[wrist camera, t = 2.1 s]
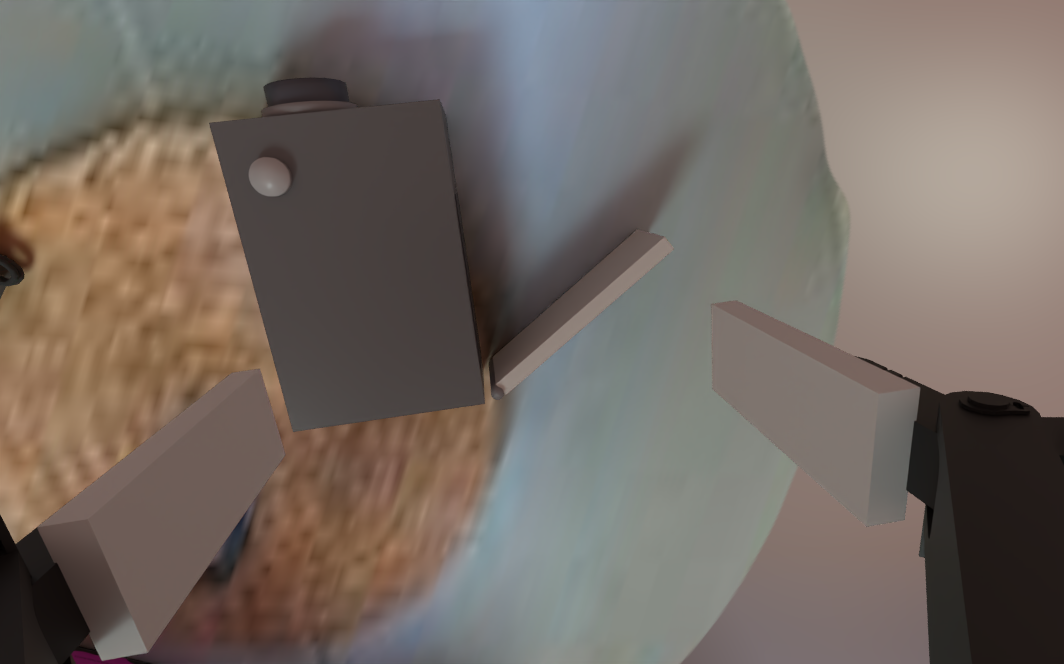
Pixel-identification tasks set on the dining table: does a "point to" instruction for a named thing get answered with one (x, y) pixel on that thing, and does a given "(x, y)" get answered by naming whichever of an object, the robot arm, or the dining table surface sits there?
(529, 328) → the side door
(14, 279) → the walkie-talkie
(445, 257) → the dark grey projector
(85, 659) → the candy bar box
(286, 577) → the dining table surface
